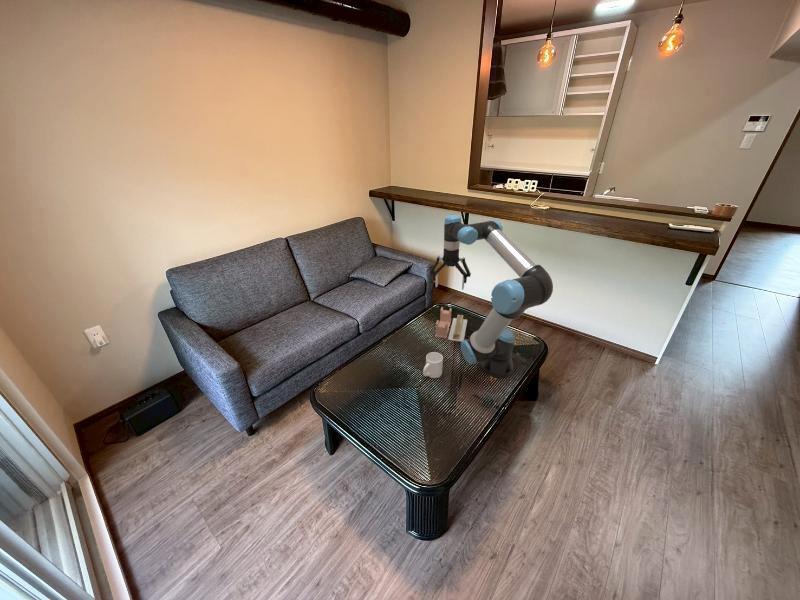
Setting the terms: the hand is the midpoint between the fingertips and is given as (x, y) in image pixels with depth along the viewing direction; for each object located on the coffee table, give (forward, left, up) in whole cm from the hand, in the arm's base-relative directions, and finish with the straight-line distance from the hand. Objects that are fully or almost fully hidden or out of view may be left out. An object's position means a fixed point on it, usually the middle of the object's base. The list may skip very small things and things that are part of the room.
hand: (449, 287), depth 158 cm
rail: (-5, -16, -36) cm, 40 cm away
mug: (+4, +27, -37) cm, 46 cm away
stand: (+4, -16, -37) cm, 40 cm away
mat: (-5, -16, -37) cm, 40 cm away
